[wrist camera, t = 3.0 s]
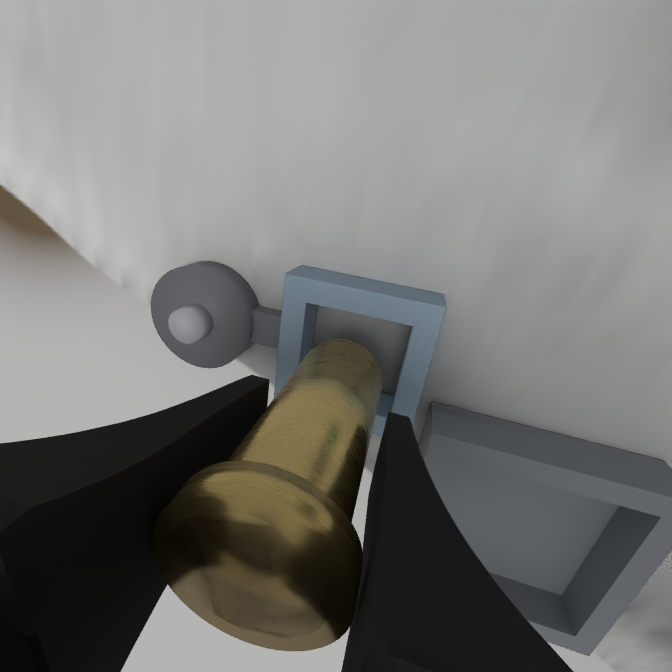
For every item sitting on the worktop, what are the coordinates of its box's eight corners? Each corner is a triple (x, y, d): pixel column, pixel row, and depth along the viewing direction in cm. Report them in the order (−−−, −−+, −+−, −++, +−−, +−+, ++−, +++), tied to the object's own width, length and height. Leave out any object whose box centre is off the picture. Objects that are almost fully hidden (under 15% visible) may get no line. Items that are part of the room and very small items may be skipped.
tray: (664, 460, 15) (705, 506, 13) (569, 602, 19) (589, 656, 17) (431, 401, 17) (432, 433, 15) (388, 543, 21) (383, 585, 19)
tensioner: (444, 294, 15) (446, 311, 13) (409, 417, 17) (406, 450, 15) (169, 238, 17) (129, 244, 15) (173, 355, 20) (140, 375, 17)
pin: (403, 342, 13) (376, 537, 5) (381, 431, 14) (337, 677, 7) (297, 318, 13) (144, 465, 6) (287, 407, 15) (157, 607, 8)
